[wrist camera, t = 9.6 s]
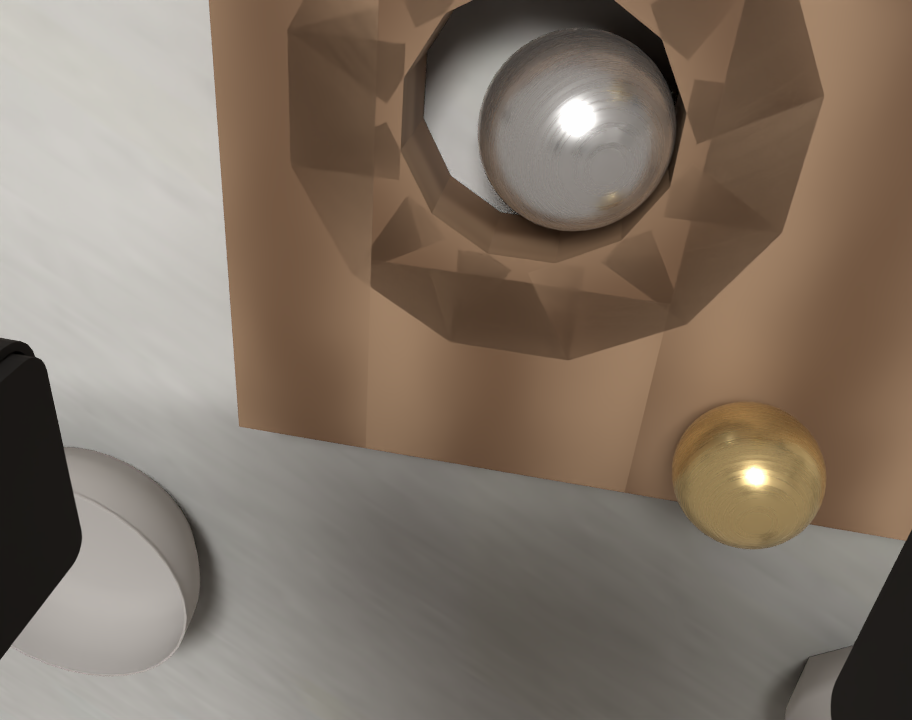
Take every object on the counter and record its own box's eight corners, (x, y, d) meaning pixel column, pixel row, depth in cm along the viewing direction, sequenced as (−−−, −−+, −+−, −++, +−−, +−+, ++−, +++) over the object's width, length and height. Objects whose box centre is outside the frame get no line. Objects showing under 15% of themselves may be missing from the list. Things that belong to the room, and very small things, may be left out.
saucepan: (72, 626, 41) (24, 694, 38) (-185, 303, 33) (-273, 354, 30) (264, 596, 37) (230, 669, 34) (30, 228, 29) (-44, 277, 26)
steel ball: (648, 12, 23) (734, 60, 19) (614, 187, 26) (684, 262, 22) (467, 3, 22) (518, 53, 18) (452, 187, 25) (494, 266, 21)
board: (1363, -371, 17) (1492, -406, 14) (934, 487, 29) (964, 550, 26) (234, -445, 19) (174, -487, 16) (270, 377, 31) (239, 426, 28)
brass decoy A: (830, 386, 24) (863, 477, 21) (788, 494, 26) (812, 593, 23) (685, 363, 24) (694, 449, 21) (656, 472, 26) (660, 566, 23)
